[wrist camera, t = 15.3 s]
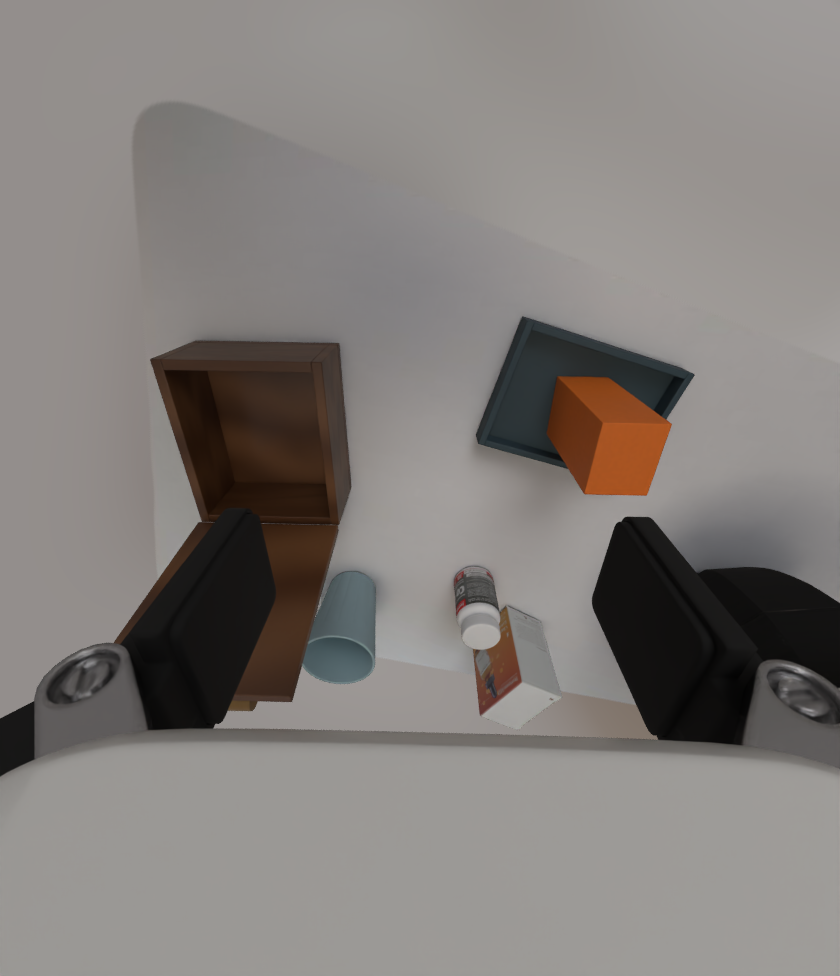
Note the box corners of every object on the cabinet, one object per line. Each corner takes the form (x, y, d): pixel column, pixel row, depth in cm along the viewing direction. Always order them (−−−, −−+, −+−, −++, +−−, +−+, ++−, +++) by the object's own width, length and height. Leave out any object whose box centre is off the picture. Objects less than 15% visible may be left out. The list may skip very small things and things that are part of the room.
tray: (475, 434, 40) (478, 443, 38) (522, 316, 34) (527, 320, 32) (616, 474, 41) (624, 484, 40) (681, 368, 36) (695, 374, 34)
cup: (349, 553, 47) (331, 625, 39) (397, 587, 50) (390, 662, 41) (310, 586, 50) (284, 660, 41) (357, 617, 53) (342, 693, 44)
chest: (195, 340, 36) (149, 359, 30) (339, 343, 35) (321, 362, 30) (232, 484, 43) (201, 522, 37) (351, 487, 43) (339, 525, 37)
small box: (506, 603, 51) (523, 680, 42) (541, 620, 53) (564, 698, 44) (470, 639, 55) (478, 717, 46) (503, 654, 56) (517, 732, 47)
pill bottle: (454, 565, 48) (458, 621, 41) (494, 565, 48) (505, 621, 41) (453, 594, 51) (457, 652, 43) (491, 594, 50) (501, 652, 43)
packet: (556, 376, 36) (602, 422, 26) (608, 377, 36) (672, 423, 26) (546, 433, 39) (584, 494, 29) (593, 434, 39) (647, 495, 29)
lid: (78, 691, 24) (115, 730, 27) (290, 696, 24) (303, 735, 27) (198, 521, 37) (214, 561, 40) (338, 524, 36) (343, 564, 39)
